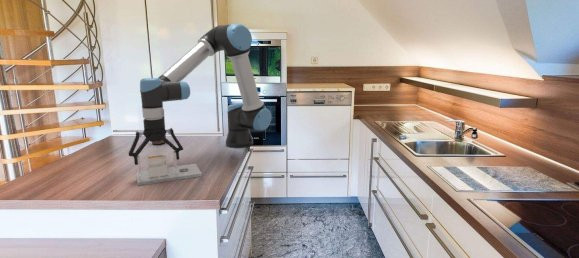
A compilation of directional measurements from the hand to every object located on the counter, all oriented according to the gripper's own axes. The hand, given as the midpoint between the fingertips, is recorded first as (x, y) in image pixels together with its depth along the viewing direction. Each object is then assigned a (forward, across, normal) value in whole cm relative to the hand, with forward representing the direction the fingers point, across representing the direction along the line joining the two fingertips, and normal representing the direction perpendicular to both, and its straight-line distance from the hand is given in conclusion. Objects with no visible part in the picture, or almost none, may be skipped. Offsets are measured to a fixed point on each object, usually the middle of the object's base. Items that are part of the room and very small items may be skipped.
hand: (158, 169), depth 133 cm
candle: (+3, -5, -56) cm, 57 cm away
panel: (+3, -4, 0) cm, 5 cm away
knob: (+2, 0, 0) cm, 2 cm away
